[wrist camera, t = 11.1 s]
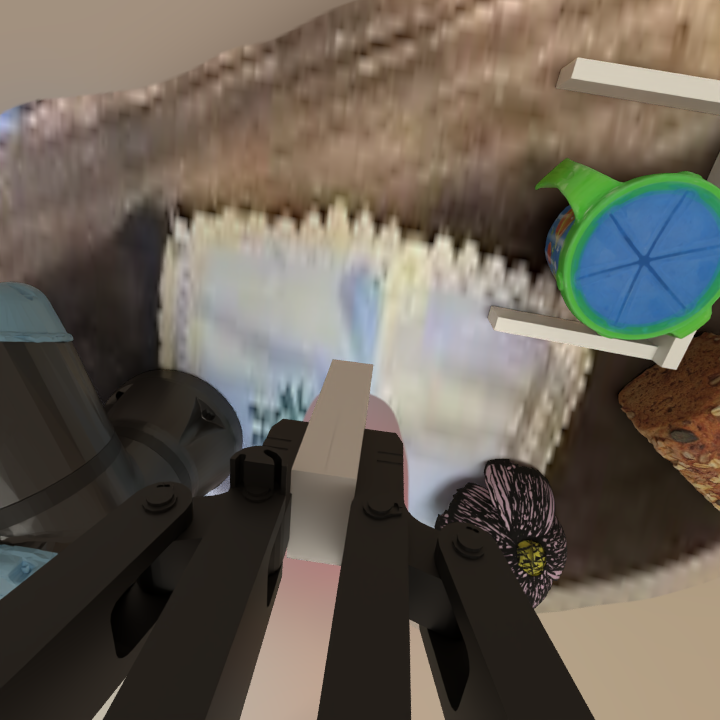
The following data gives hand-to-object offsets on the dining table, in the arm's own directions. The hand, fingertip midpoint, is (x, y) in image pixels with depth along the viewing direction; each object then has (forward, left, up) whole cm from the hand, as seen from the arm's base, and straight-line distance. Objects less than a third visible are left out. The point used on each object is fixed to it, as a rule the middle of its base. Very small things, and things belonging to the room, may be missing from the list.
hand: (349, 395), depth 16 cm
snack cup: (+17, +5, -25) cm, 31 cm away
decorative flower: (+17, -24, -25) cm, 39 cm away
